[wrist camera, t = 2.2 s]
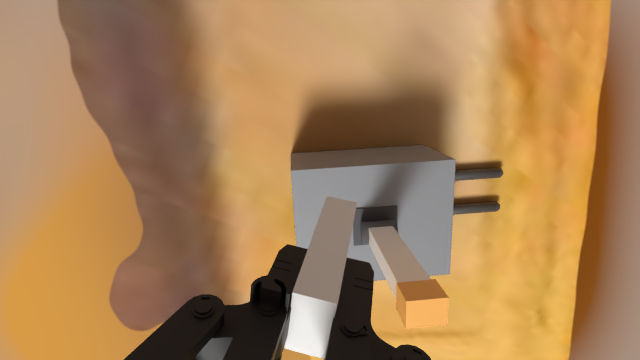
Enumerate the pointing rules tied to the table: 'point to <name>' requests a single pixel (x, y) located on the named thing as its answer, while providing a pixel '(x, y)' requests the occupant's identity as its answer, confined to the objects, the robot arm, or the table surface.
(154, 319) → the table surface
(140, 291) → the table surface
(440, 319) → the breaker lever
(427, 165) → the grey power plug
